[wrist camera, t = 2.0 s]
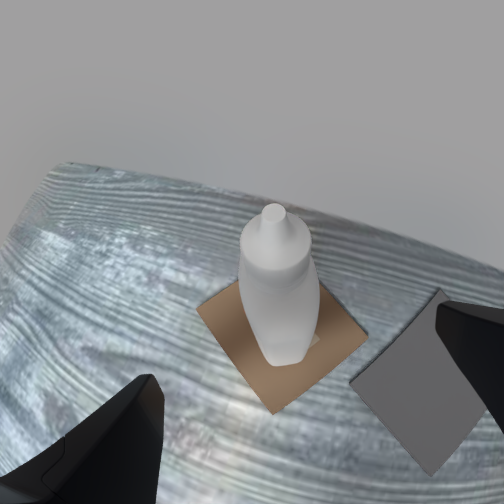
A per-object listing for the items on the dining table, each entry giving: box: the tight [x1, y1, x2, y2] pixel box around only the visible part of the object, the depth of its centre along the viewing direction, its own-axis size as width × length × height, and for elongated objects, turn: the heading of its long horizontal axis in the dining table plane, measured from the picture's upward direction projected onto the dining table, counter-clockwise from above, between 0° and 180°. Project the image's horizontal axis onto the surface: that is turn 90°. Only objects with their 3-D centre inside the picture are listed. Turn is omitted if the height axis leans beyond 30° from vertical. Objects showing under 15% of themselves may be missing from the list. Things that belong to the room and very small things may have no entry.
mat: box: [349, 289, 487, 476], centre depth 15 cm, size 10×10×1 cm
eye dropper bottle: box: [238, 203, 320, 366], centre depth 14 cm, size 4×6×12 cm
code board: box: [196, 280, 369, 415], centre depth 19 cm, size 9×8×1 cm
